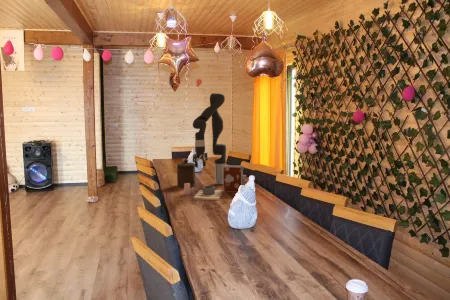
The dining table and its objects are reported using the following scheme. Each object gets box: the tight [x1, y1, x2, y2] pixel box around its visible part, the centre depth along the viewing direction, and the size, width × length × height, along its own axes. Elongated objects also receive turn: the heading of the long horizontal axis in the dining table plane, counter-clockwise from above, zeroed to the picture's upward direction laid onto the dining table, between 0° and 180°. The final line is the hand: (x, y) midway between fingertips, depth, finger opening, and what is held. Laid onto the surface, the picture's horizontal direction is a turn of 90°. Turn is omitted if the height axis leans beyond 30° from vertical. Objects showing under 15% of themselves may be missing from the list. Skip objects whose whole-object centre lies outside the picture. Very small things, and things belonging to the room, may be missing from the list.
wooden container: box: [176, 158, 196, 188], centre depth 332 cm, size 15×15×22 cm
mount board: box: [193, 189, 224, 201], centre depth 297 cm, size 24×18×2 cm
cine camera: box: [222, 164, 249, 193], centre depth 309 cm, size 9×19×20 cm, turn 78°
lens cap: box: [183, 183, 191, 196], centre depth 302 cm, size 4×4×8 cm
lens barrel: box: [202, 185, 216, 195], centre depth 297 cm, size 8×8×5 cm
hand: (200, 166), depth 309 cm, fingers open, 8 cm apart
